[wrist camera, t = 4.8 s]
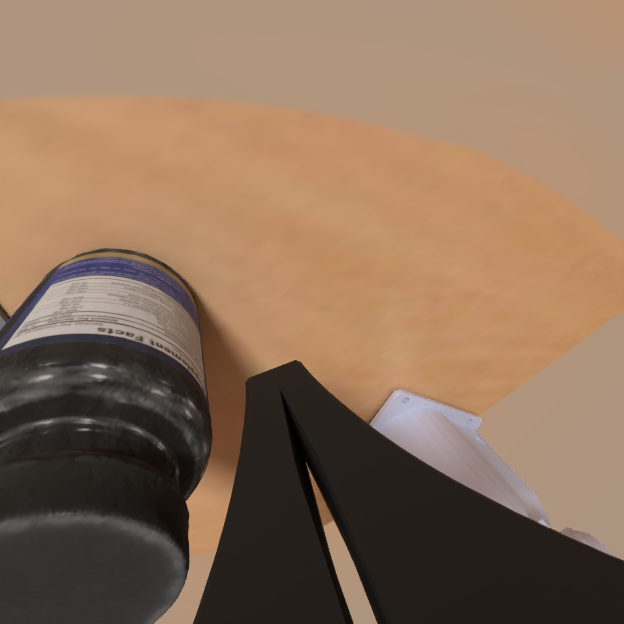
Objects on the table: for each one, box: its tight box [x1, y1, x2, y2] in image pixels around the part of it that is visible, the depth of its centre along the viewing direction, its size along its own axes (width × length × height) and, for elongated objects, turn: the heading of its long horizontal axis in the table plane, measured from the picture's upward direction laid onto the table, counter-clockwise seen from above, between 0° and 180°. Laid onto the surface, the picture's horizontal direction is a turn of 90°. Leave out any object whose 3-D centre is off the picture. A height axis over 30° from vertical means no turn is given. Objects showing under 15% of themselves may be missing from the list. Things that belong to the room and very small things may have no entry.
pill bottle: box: [0, 248, 212, 624], centre depth 11 cm, size 6×6×11 cm
